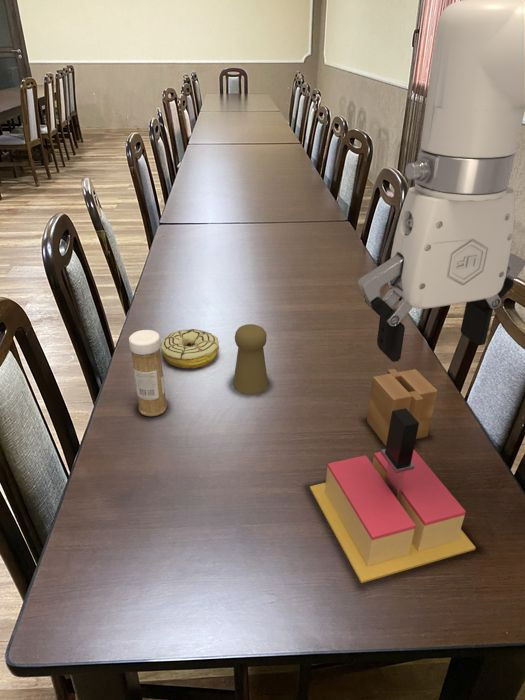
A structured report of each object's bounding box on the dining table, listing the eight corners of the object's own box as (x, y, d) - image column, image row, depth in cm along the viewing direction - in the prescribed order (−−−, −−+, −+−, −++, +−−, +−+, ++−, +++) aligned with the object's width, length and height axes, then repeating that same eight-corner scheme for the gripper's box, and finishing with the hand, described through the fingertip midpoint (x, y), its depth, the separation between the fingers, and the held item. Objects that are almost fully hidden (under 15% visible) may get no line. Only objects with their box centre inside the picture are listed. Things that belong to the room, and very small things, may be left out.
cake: (408, 465, 76) (414, 435, 73) (475, 549, 64) (485, 518, 61) (309, 488, 72) (312, 458, 69) (361, 583, 60) (366, 551, 57)
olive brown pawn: (248, 399, 89) (249, 341, 83) (225, 383, 92) (224, 327, 87) (275, 385, 92) (277, 329, 86) (252, 370, 96) (252, 315, 90)
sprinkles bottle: (172, 404, 87) (165, 332, 80) (157, 420, 83) (148, 346, 77) (148, 397, 89) (140, 326, 82) (132, 413, 85) (122, 339, 78)
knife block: (403, 409, 87) (411, 365, 82) (431, 440, 80) (442, 394, 76) (363, 417, 85) (369, 372, 80) (388, 450, 78) (397, 403, 74)
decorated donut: (200, 336, 106) (199, 319, 104) (230, 360, 99) (229, 342, 97) (152, 351, 101) (150, 334, 99) (179, 378, 93) (178, 359, 92)
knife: (388, 502, 69) (406, 405, 61) (402, 523, 66) (423, 424, 58) (371, 506, 69) (387, 409, 61) (385, 527, 66) (404, 428, 58)
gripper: (394, 192, 40) (372, 382, 49) (578, 174, 45) (528, 350, 53) (350, 171, 46) (337, 342, 55) (516, 157, 51) (479, 317, 60)
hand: (431, 346), depth 54 cm, fingers open, 9 cm apart
